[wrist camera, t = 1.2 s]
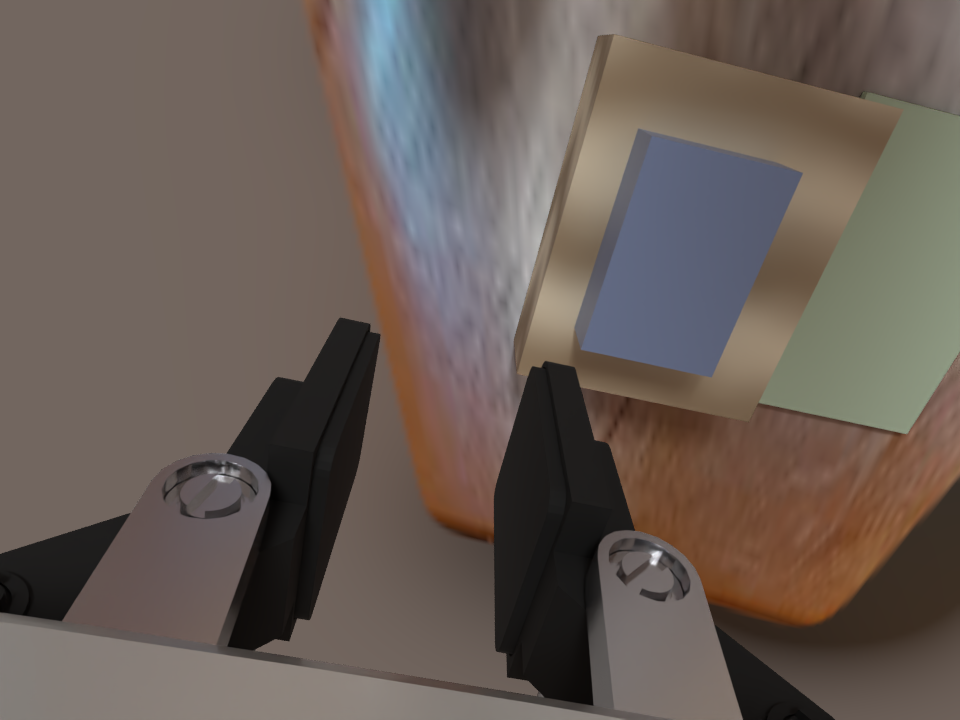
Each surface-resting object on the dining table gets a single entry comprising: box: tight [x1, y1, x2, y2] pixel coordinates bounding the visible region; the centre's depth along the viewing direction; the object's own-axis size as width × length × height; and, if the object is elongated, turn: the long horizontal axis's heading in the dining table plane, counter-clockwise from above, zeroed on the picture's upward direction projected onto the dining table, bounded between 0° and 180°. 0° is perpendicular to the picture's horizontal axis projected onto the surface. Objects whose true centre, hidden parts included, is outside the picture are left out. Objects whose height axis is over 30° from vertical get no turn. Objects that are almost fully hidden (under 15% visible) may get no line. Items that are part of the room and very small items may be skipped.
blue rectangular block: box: [574, 128, 803, 378], centre depth 26 cm, size 9×6×2 cm, turn 167°
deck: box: [514, 34, 904, 422], centre depth 29 cm, size 15×12×4 cm
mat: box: [759, 92, 960, 434], centre depth 32 cm, size 16×11×1 cm
